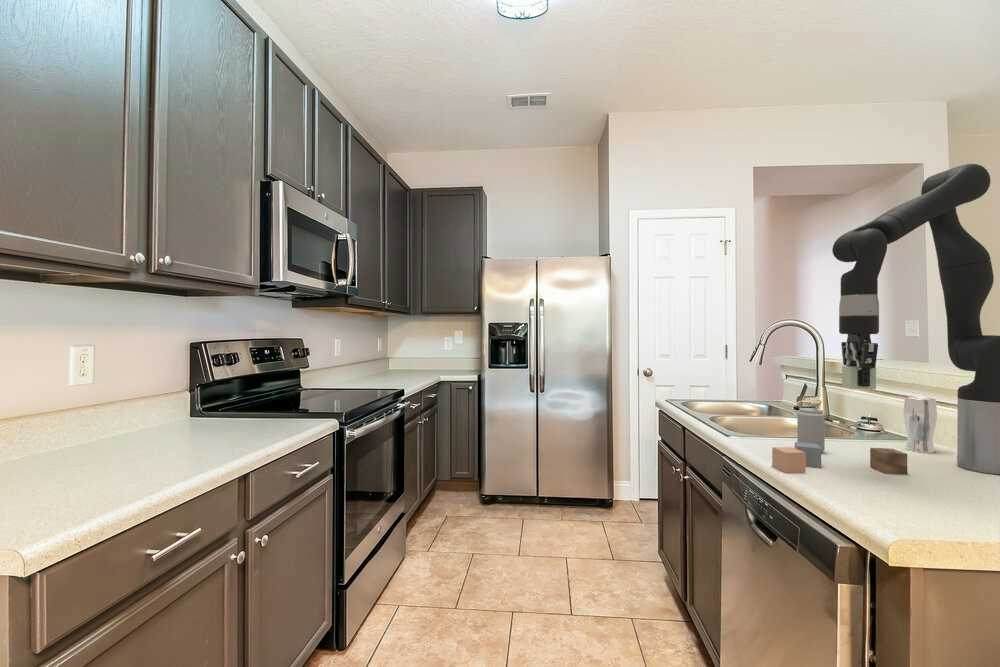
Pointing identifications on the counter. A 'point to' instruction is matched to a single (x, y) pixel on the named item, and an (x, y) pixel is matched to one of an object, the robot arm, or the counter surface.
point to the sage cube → (856, 378)
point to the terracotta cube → (788, 459)
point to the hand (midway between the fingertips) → (858, 384)
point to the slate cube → (810, 453)
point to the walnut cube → (888, 460)
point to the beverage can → (811, 427)
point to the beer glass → (920, 423)
